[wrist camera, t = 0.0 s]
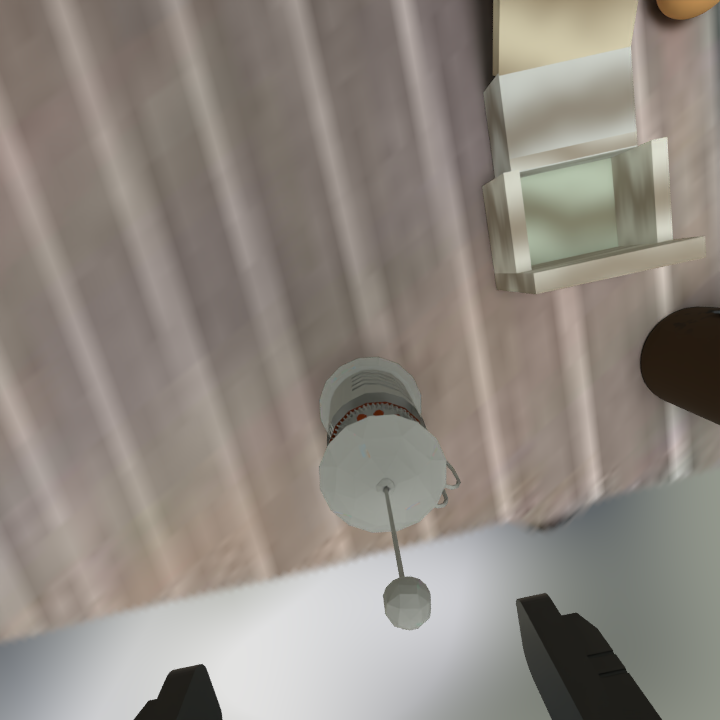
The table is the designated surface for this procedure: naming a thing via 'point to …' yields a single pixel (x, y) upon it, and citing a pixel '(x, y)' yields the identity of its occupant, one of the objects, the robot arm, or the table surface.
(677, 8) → the ball
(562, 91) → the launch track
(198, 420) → the table surface
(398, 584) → the french press
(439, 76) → the table surface
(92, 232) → the table surface
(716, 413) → the olive oil
